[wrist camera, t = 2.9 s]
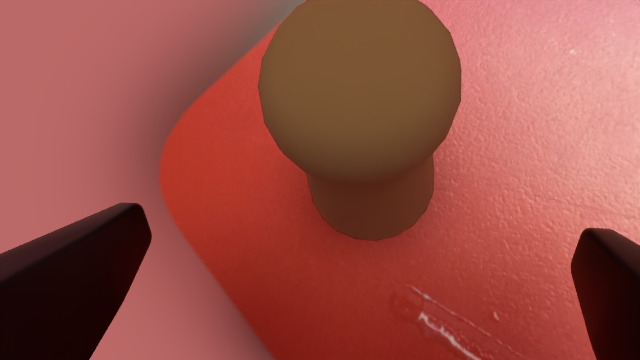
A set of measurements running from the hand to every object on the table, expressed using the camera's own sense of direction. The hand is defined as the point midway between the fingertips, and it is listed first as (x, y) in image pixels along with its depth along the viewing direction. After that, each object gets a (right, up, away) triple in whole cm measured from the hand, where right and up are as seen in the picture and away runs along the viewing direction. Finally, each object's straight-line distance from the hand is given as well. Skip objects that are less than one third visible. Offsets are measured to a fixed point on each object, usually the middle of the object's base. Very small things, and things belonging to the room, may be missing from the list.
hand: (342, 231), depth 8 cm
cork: (+2, +1, +11) cm, 12 cm away
